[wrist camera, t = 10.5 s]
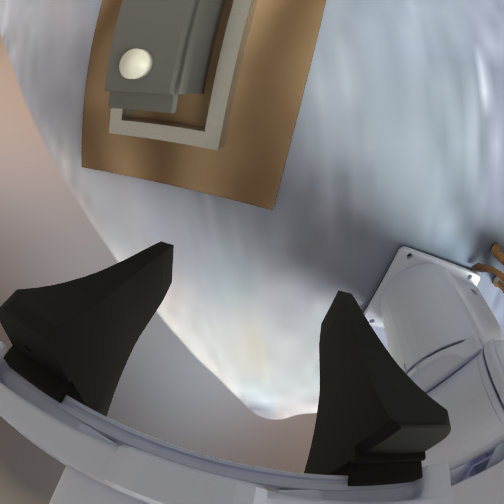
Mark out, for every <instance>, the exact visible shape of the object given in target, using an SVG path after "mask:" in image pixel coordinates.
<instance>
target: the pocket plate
mask: <svg viewBox="0 0 504 504" xmlns="http://www.w3.org/2000/svg"><path fill="white" fill-rule="evenodd" d="M122 1H123V0H103V2H102V5H101V9H100V13H99V17H98V21H97V25H96V29H95V34H94V39H93V44H92V49H91V55H90V61H89V67H88V74H87V81H86V90H85V100H84V112H83V128H82V167H85V168H90V169H95V170H101V171H106V172H111V173H116V174H121V175H126V176H131V177H136V178H141V179H146V180H150V181H155V182H160V183H164V184H169V185H173V186H178V187H182V188H186V189H191V190H195V191H199V192H203V193H207V194H212V195H216V196H220V197H224V198H228V199H232V200H236V201H240V202H244V203H247V204H251V205H255V206H259V207H263V208H266V209H270V210H273V207H274V204H275V200H276V196H277V193H278V189H279V185H280V181H281V177H282V174H283V170H284V166H285V162H286V158H287V154H288V151H289V147H290V143H291V139H292V135H293V131H294V127H295V124H296V120H297V116H298V112H299V108H300V104H301V100H302V96H303V92H304V88H305V84H306V81H307V77H308V73H309V69H310V65H311V61H312V57H313V53H314V49H315V45H316V41H317V37H318V32H319V28H320V24H321V20H322V16H323V12H324V8H325V4H326V0H226V1H225V4H224V8H223V12H222V15H221V19H220V23H219V27H218V31H217V35H216V39H215V44H214V48H213V52H212V57H211V61H210V66H209V71H208V75H207V80H206V85H205V90H204V94H179V95H178V101H177V108H176V113H162V112H153V111H143V110H132V109H118V108H108V103H109V94H110V91H105V83H106V76H107V69H108V63H109V57H110V52H111V47H112V42H113V37H114V32H115V28H116V23H117V19H118V15H119V11H120V8H121V4H122Z"/></svg>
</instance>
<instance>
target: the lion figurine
mask: <svg viewBox="0 0 504 504" xmlns="http://www.w3.org/2000/svg"><path fill="white" fill-rule="evenodd" d="M501 250H502V249H501V246H500V245H499V244H494V245H493V247H492V249H491V254H492V255H493V256H494V257H495V258H496V259H497V260H498V261H499V262H500V263H502V264H503V265H504V254H503V253H502V252H501ZM471 269H472V271H479V272H490V273H493V274H495V275H496V276H497V277H495V278H494V280H493V284H494V286H495V287H499V288H500V289H501V290H502V291H503V293H504V274H503V273H502V272H501V271H500V270H498V269H496V268H494V267H491V266H486V265H482V264H480V263H478V264H475V265H473V266H472V268H471Z"/></svg>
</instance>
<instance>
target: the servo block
mask: <svg viewBox="0 0 504 504" xmlns="http://www.w3.org/2000/svg"><path fill="white" fill-rule="evenodd" d="M225 1H226V0H123V1H122V4H121V8H120V11H119V15H118V19H117V23H116V28H115V32H114V37H113V42H112V47H111V52H110V57H109V63H108V69H107V76H106V83H105V91H110V94H109V103H108V108H118V109H132V110H143V111H153V112H162V113H176V108H177V101H178V95H179V94H204V90H205V85H206V80H207V75H208V71H209V66H210V61H211V57H212V52H213V48H214V44H215V39H216V35H217V31H218V27H219V23H220V19H221V15H222V12H223V8H224V4H225Z"/></svg>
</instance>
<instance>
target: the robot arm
mask: <svg viewBox="0 0 504 504" xmlns="http://www.w3.org/2000/svg"><path fill="white" fill-rule="evenodd" d="M173 247H174V245H171V244H167V243H164V242H159V243H157V244H155V245H153V246H151V247H149V248H147V249H145V250H143V251H141V252H139V253H137V254H135V255H134V256H132V257H130V258H128V259H126V260H124V261H121V262H119V263H117V264H115V265H113V266H111V267H109V268H107V269H104V270H102V271H99V272H97V273H94V274H91V275H88V276H86V277H83V278H79V279H76V280H72V281H69V282H65V283H61V284H56V285H51V286H45V287H39V288H30V289H19V290H16V291H15V292H14V293H13V294H12V295H11V296H10V297H9V298H8V299H7V301H5V302H4V304H3V305H2V306H1V307H0V322H1V324H2V326H3V328H4V330H5V332H6V334H7V335H8V337H9V339H10V341H11V343H12V344H13V346H12V347H11V348H10V349H8V348H7V347H6V346H5V345H4V344H3V343H2V342H1V341H0V416H1V417H2V418H4V419H5V420H6V421H7V422H8V423H9V424H10V425H12V426H13V427H14V428H15V429H16V430H17V431H19V432H20V433H21V434H22V435H24V436H25V437H26V438H27V439H29V440H30V441H32V442H33V443H34V444H35V445H37V446H38V447H39V448H41V449H42V450H44V451H45V452H46V453H48V454H49V455H51V456H52V457H54V458H55V459H57V460H58V461H60V462H61V463H63V464H64V465H66V468H65V470H64V472H63V474H62V476H61V478H60V481H59V483H58V485H57V487H56V490H55V492H54V494H53V496H52V499H51V501H50V503H49V504H504V340H503V336H502V331H501V328H500V326H499V324H498V322H497V320H496V318H495V317H494V315H493V313H492V311H491V310H490V308H489V306H488V305H487V303H486V301H485V300H484V298H483V296H482V295H481V293H480V291H479V290H478V288H477V287H476V285H477V283H478V282H479V280H480V275H479V274H478V273H476V272H474V271H471V270H469V269H466V268H464V267H461V266H458V265H456V264H453V263H450V262H448V261H445V260H442V259H440V258H437V257H434V256H431V255H428V254H426V253H423V252H420V251H417V250H414V249H411V248H409V247H405V246H404V247H401V248H400V249H399V250H398V252H397V254H396V256H395V258H394V260H393V262H392V263H391V265H390V267H389V269H388V271H387V273H386V275H385V277H384V279H383V280H382V282H381V284H380V286H379V288H378V289H377V291H376V293H375V295H374V296H373V298H372V300H371V302H370V303H369V305H368V307H367V308H366V310H365V312H364V313H363V312H362V310H361V309H360V307H359V305H358V303H357V302H356V300H355V298H354V297H353V295H352V294H350V293H346V292H342V291H338V293H337V295H336V297H335V299H334V301H333V303H332V305H331V307H330V308H329V310H328V312H327V314H326V316H325V318H324V320H323V322H322V324H321V333H320V343H319V353H320V396H319V404H318V412H317V418H316V424H315V430H314V435H313V440H312V444H311V449H310V453H309V457H308V461H307V465H306V468H305V471H304V473H297V472H289V471H281V470H275V469H269V468H263V467H257V466H252V465H247V464H242V463H237V462H233V461H228V460H224V459H220V458H216V457H213V456H209V455H205V454H202V453H198V452H195V451H192V450H188V449H185V448H182V447H179V446H176V445H173V444H170V443H167V442H165V441H162V440H159V439H156V438H154V437H152V436H149V435H146V434H144V433H142V432H139V431H137V430H134V429H132V428H130V427H128V426H125V425H123V424H121V423H119V422H116V421H114V420H112V419H110V418H108V417H107V413H108V410H109V407H110V404H111V401H112V398H113V395H114V392H115V389H116V387H117V384H118V382H119V379H120V376H121V374H122V372H123V369H124V367H125V365H126V362H127V360H128V358H129V356H130V354H131V352H132V349H133V347H134V345H135V343H136V342H137V340H138V338H139V336H140V335H141V333H142V332H143V330H144V329H145V327H146V325H147V324H148V322H149V321H150V319H151V318H152V316H153V315H154V313H155V312H156V310H157V309H158V307H159V306H160V304H161V303H162V301H163V299H164V297H165V295H166V293H167V291H168V289H169V287H170V285H171V283H172V264H173ZM409 253H411V255H410V256H407V255H408V254H409ZM468 275H469V276H468ZM371 319H373V320H371ZM371 325H373V326H378V327H383V328H384V329H385V333H386V338H387V342H388V347H389V352H390V354H389V352H388V351H387V350H386V348H385V347H384V345H383V344H382V342H381V341H380V339H379V338H378V336H377V335H376V333H375V332H374V330H373V329H372V327H371ZM115 443H116V444H118V445H120V446H119V447H117V446H116V444H115ZM266 489H269V490H276V492H269V491H267V490H266Z"/></svg>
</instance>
